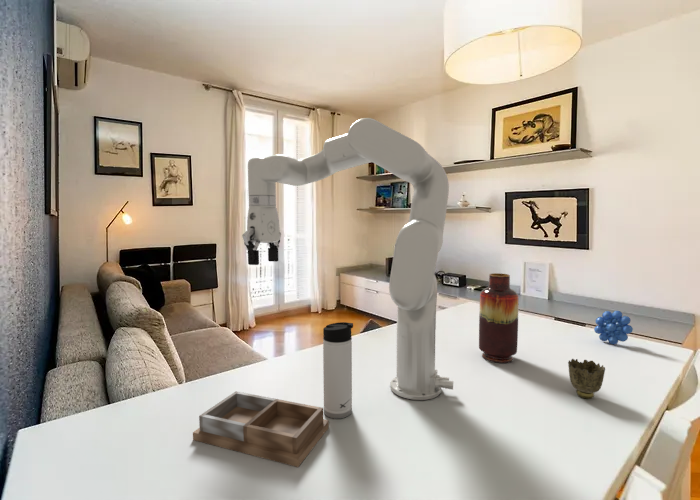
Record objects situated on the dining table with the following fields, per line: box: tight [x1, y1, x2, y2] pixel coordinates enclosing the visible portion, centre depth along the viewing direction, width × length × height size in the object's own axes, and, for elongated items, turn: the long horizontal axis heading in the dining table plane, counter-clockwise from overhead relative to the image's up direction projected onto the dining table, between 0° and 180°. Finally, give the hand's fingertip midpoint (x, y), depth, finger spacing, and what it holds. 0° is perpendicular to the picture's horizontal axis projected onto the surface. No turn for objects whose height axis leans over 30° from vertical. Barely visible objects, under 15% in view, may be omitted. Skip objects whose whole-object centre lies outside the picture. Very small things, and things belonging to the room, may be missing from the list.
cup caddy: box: [192, 391, 330, 468], centre depth 72 cm, size 23×13×4 cm, turn 70°
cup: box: [567, 358, 606, 400], centre depth 87 cm, size 8×7×8 cm
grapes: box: [594, 310, 634, 345], centre depth 125 cm, size 12×7×12 cm, turn 28°
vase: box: [478, 272, 520, 364], centre depth 112 cm, size 11×11×26 cm
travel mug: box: [322, 321, 354, 420], centre depth 80 cm, size 6×7×20 cm
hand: (263, 262), depth 104 cm, fingers open, 9 cm apart
